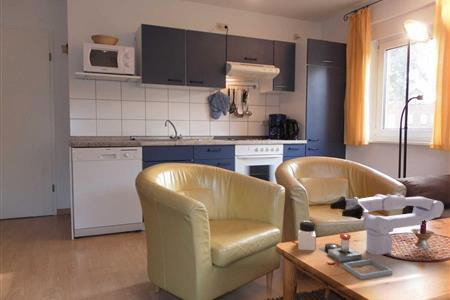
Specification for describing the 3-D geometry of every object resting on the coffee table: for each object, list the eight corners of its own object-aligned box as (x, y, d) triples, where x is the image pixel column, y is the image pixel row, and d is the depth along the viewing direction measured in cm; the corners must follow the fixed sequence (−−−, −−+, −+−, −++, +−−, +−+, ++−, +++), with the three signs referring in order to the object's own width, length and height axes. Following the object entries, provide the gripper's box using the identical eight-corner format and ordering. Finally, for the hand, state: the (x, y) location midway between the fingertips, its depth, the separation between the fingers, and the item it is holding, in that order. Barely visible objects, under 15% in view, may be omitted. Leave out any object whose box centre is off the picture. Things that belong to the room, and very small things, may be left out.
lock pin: (345, 254, 137) (346, 232, 136) (352, 258, 133) (352, 236, 133) (337, 255, 136) (337, 233, 135) (343, 259, 132) (344, 237, 131)
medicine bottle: (315, 252, 141) (316, 225, 140) (298, 251, 143) (298, 224, 142) (314, 246, 148) (315, 220, 147) (298, 245, 150) (298, 219, 149)
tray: (371, 265, 129) (372, 258, 129) (392, 276, 119) (392, 270, 119) (342, 269, 125) (342, 263, 125) (361, 282, 116) (361, 275, 115)
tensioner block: (338, 247, 147) (338, 241, 146) (363, 262, 131) (363, 255, 131) (318, 250, 144) (318, 243, 144) (341, 265, 129) (341, 258, 128)
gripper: (354, 190, 142) (326, 194, 139) (378, 202, 129) (349, 207, 125) (353, 205, 144) (325, 209, 140) (377, 219, 131) (347, 224, 127)
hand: (336, 209), depth 133 cm, fingers open, 7 cm apart
